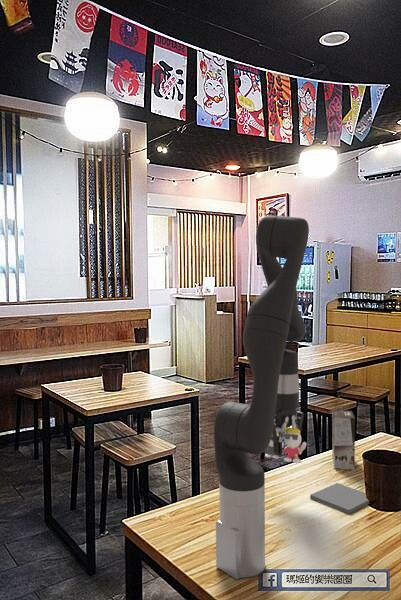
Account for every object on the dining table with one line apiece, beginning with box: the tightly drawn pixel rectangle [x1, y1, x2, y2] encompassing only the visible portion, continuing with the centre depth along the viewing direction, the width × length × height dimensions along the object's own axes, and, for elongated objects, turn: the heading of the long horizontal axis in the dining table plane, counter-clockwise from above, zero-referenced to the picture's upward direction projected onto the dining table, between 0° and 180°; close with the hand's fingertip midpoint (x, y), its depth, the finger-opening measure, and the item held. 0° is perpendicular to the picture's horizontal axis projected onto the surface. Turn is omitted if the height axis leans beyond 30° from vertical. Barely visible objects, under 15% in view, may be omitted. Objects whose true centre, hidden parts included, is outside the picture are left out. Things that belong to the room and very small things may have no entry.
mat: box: [309, 482, 370, 515], centre depth 135 cm, size 12×12×1 cm
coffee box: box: [331, 410, 356, 471], centre depth 160 cm, size 9×6×16 cm
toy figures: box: [264, 427, 307, 464], centre depth 136 cm, size 12×4×8 cm, turn 56°
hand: (284, 452), depth 136 cm, fingers closed on toy figures, 4 cm apart
